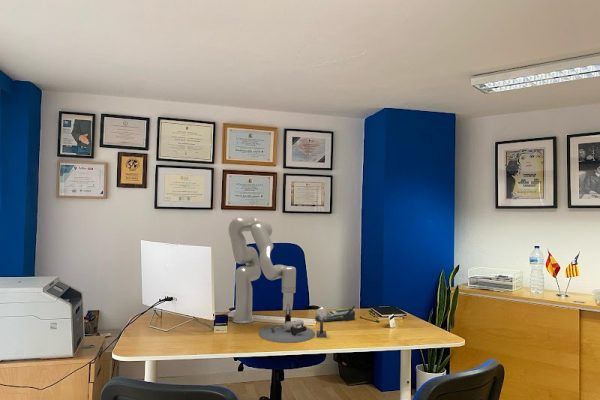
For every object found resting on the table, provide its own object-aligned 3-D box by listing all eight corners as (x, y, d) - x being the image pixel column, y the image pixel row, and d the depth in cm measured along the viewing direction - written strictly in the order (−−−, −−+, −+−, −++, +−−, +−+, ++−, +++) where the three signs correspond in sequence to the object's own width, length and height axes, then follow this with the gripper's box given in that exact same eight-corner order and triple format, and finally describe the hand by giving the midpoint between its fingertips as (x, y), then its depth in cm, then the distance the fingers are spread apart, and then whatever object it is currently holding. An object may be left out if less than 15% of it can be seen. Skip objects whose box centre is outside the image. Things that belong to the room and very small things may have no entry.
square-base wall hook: (315, 337, 207) (316, 308, 207) (315, 334, 212) (316, 305, 212) (327, 337, 207) (328, 308, 207) (326, 334, 212) (327, 305, 212)
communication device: (311, 318, 244) (311, 304, 244) (347, 315, 251) (347, 301, 251) (319, 324, 232) (319, 308, 232) (356, 320, 240) (356, 305, 240)
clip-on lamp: (273, 342, 206) (307, 333, 208) (271, 330, 205) (305, 322, 208) (271, 332, 217) (304, 325, 220) (269, 321, 217) (301, 313, 219)
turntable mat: (255, 342, 197) (255, 341, 197) (261, 324, 227) (261, 323, 227) (316, 343, 197) (316, 343, 197) (314, 325, 227) (314, 325, 227)
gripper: (282, 286, 227) (281, 319, 227) (281, 292, 212) (280, 327, 212) (295, 286, 227) (294, 319, 227) (295, 292, 212) (294, 327, 212)
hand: (287, 323), depth 220 cm, fingers closed
